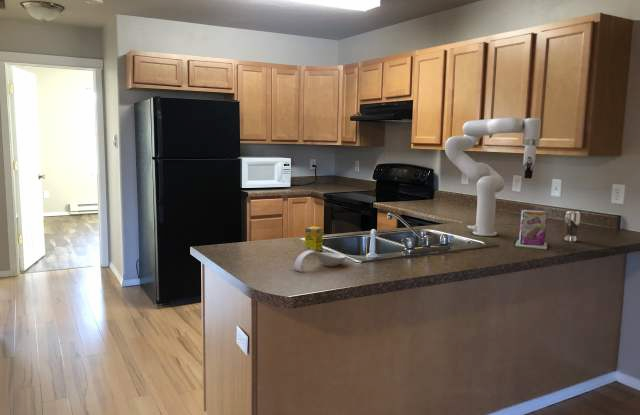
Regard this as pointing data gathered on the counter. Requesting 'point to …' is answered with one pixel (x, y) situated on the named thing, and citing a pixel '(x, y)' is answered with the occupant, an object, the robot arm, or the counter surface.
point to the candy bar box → (532, 227)
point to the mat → (531, 245)
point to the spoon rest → (324, 258)
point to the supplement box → (314, 239)
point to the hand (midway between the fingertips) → (528, 177)
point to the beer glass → (571, 225)
